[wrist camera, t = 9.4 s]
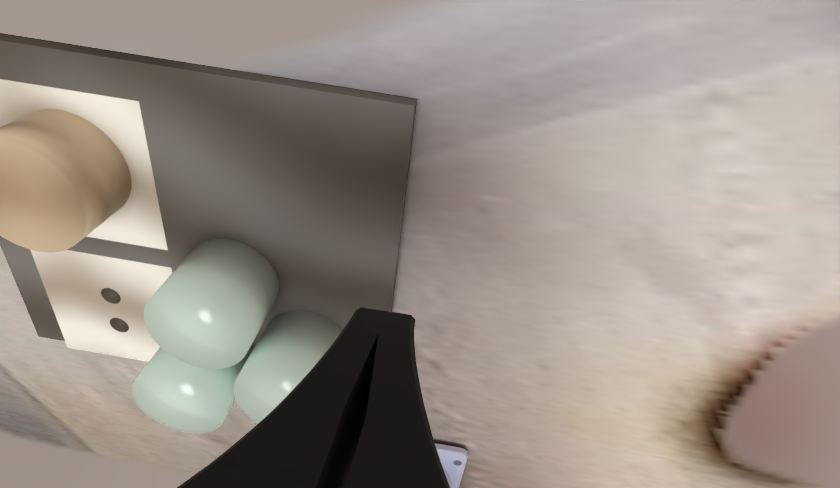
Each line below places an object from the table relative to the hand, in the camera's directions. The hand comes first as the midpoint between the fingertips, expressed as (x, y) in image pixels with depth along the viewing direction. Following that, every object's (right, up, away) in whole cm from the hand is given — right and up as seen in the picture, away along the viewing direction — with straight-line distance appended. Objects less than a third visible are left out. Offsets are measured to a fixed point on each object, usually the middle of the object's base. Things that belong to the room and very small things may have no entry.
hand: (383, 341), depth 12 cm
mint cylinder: (-8, +1, +11) cm, 14 cm away
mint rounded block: (-10, -3, +14) cm, 18 cm away
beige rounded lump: (-14, +6, +9) cm, 17 cm away
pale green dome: (-5, -3, +13) cm, 14 cm away
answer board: (-10, +3, +11) cm, 15 cm away
